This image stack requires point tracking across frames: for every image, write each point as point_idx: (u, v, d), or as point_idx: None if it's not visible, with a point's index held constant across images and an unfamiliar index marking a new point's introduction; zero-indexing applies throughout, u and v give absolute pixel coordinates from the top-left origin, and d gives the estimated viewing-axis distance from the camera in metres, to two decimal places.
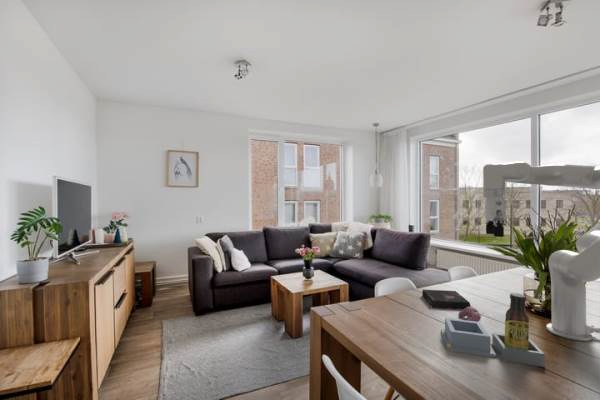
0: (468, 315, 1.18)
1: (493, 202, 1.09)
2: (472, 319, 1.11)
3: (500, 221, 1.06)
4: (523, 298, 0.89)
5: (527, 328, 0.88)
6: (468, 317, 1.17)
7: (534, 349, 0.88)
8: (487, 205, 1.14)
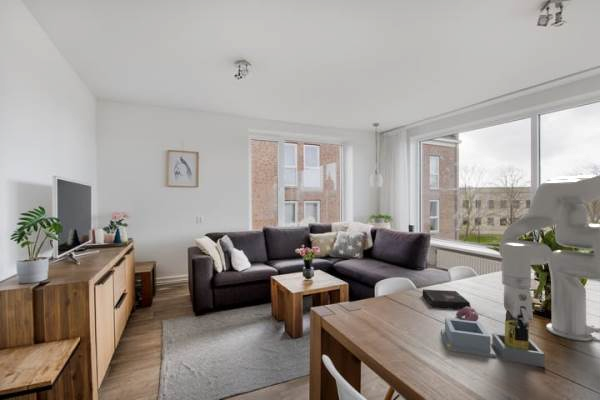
0: (466, 315, 1.18)
1: (516, 295, 0.87)
2: (470, 319, 1.12)
3: (524, 324, 0.85)
4: None
5: None
6: (466, 317, 1.17)
7: (534, 349, 0.88)
8: (507, 294, 0.91)
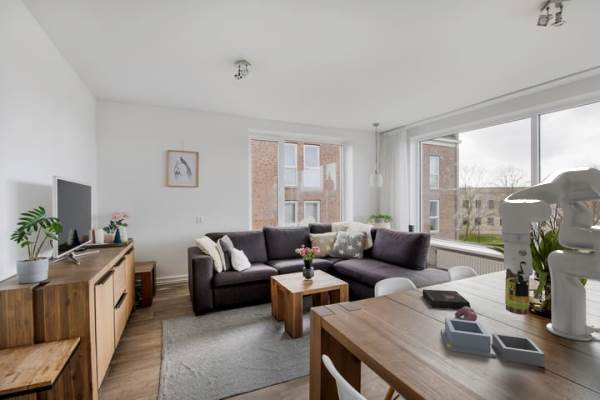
0: (464, 315, 1.18)
1: (516, 251, 0.87)
2: (468, 319, 1.12)
3: (524, 279, 0.85)
4: None
5: None
6: (464, 317, 1.17)
7: (534, 349, 0.88)
8: (507, 252, 0.91)
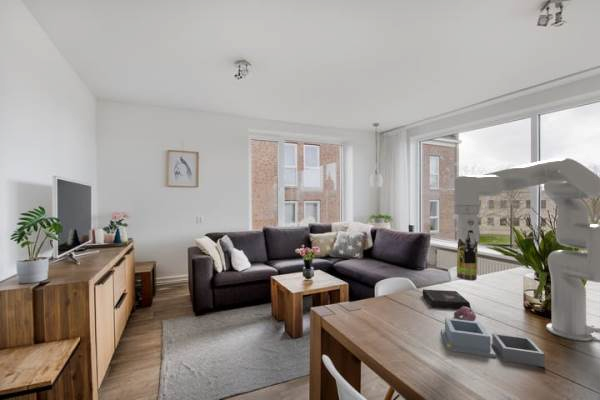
0: (463, 315, 1.18)
1: (464, 221, 0.94)
2: (467, 319, 1.12)
3: (470, 246, 0.92)
4: None
5: (475, 252, 0.95)
6: (463, 317, 1.17)
7: (534, 349, 0.88)
8: (459, 223, 0.99)
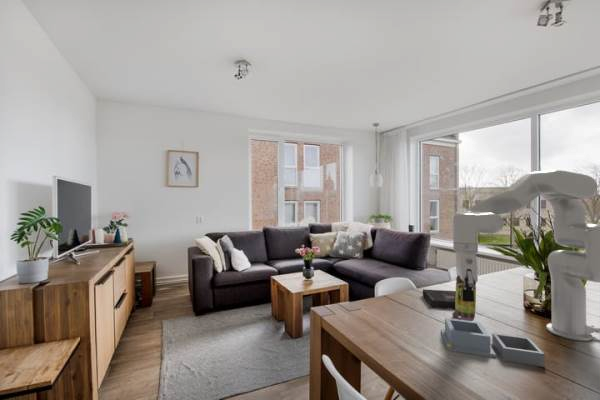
0: None
1: (463, 259, 0.94)
2: (466, 319, 1.12)
3: (469, 285, 0.92)
4: None
5: (474, 290, 0.95)
6: (462, 317, 1.18)
7: (534, 349, 0.88)
8: (457, 260, 0.99)
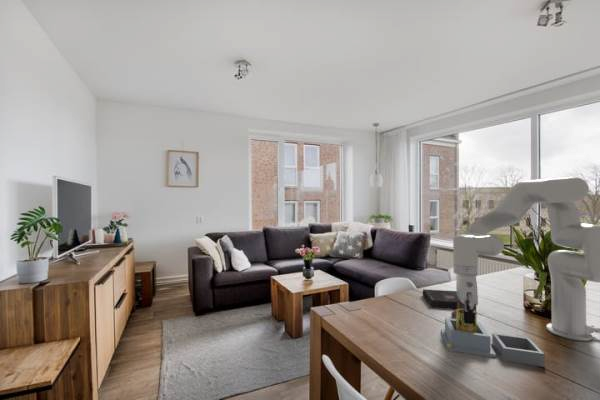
0: None
1: (463, 282, 0.94)
2: None
3: (470, 308, 0.91)
4: None
5: None
6: None
7: (534, 349, 0.88)
8: (457, 282, 0.99)
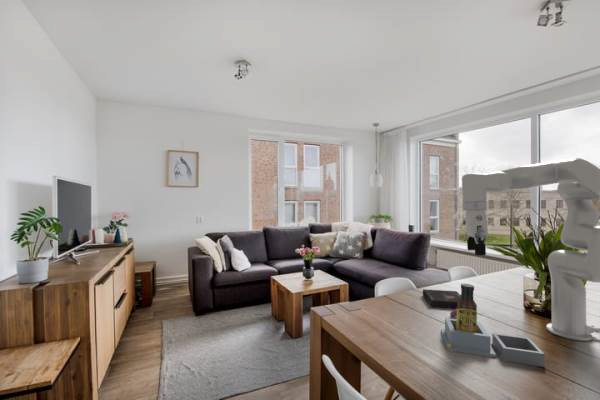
0: None
1: (473, 217, 0.99)
2: None
3: (481, 238, 0.95)
4: (471, 288, 0.96)
5: (474, 315, 0.95)
6: None
7: (534, 349, 0.88)
8: (467, 219, 1.03)
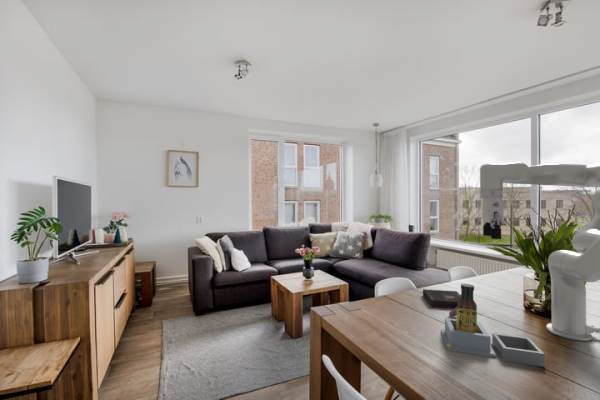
0: None
1: (490, 203, 1.06)
2: None
3: (497, 223, 1.03)
4: (471, 288, 0.96)
5: (474, 315, 0.95)
6: None
7: (534, 349, 0.88)
8: (484, 206, 1.11)
